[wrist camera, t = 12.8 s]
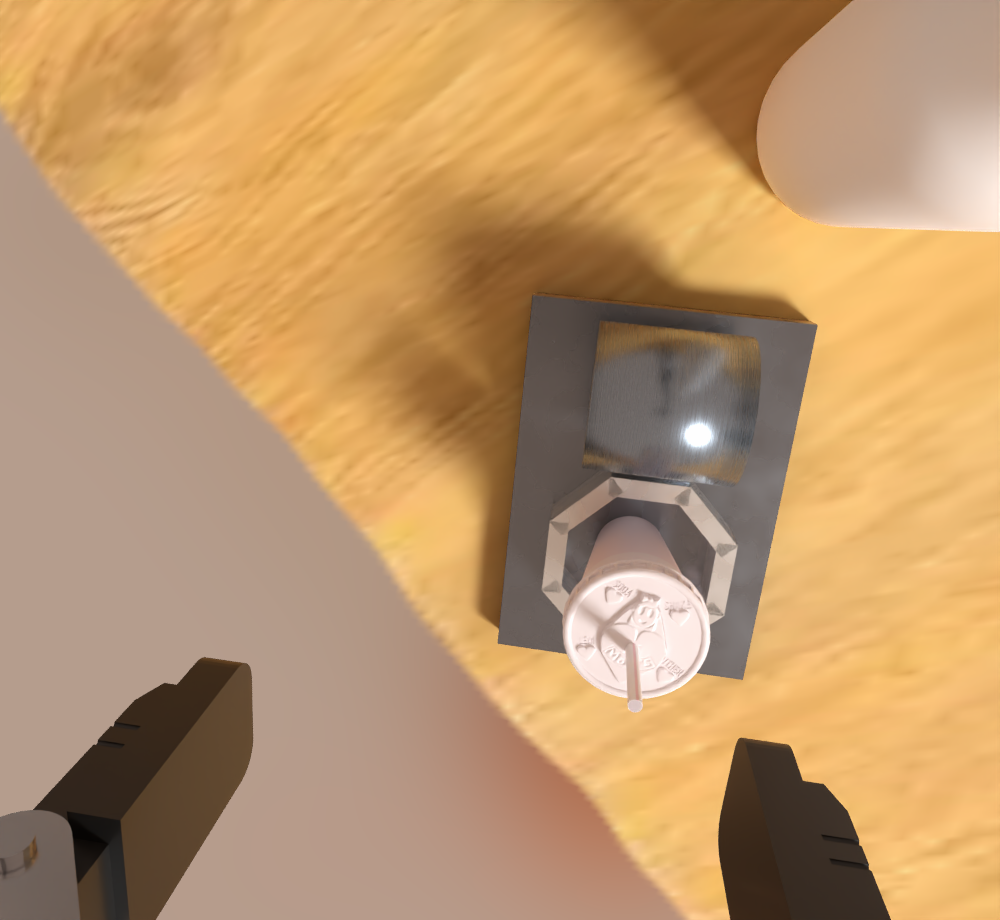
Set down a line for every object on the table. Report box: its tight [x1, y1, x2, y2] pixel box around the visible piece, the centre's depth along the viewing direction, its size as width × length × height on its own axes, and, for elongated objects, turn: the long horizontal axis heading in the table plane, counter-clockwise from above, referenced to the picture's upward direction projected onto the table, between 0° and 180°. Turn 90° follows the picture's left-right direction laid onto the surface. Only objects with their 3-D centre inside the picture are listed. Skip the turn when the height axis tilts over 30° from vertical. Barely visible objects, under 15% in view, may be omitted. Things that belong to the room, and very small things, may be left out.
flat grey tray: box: [498, 293, 817, 680], centre depth 39 cm, size 20×14×8 cm
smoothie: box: [562, 516, 710, 712], centre depth 36 cm, size 6×6×14 cm
